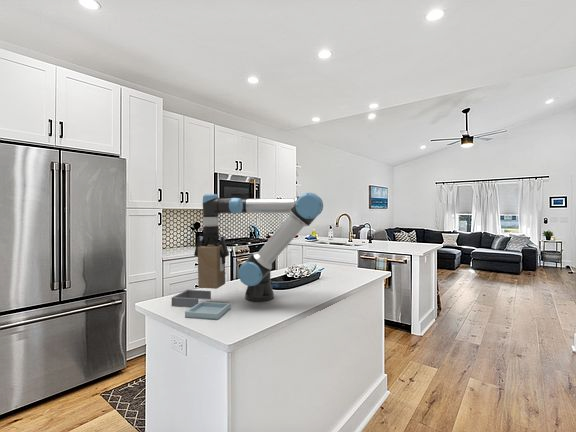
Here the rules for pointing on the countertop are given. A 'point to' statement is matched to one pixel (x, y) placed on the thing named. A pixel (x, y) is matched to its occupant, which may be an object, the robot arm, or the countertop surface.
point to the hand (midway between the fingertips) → (211, 270)
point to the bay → (190, 298)
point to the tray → (208, 310)
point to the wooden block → (210, 267)
